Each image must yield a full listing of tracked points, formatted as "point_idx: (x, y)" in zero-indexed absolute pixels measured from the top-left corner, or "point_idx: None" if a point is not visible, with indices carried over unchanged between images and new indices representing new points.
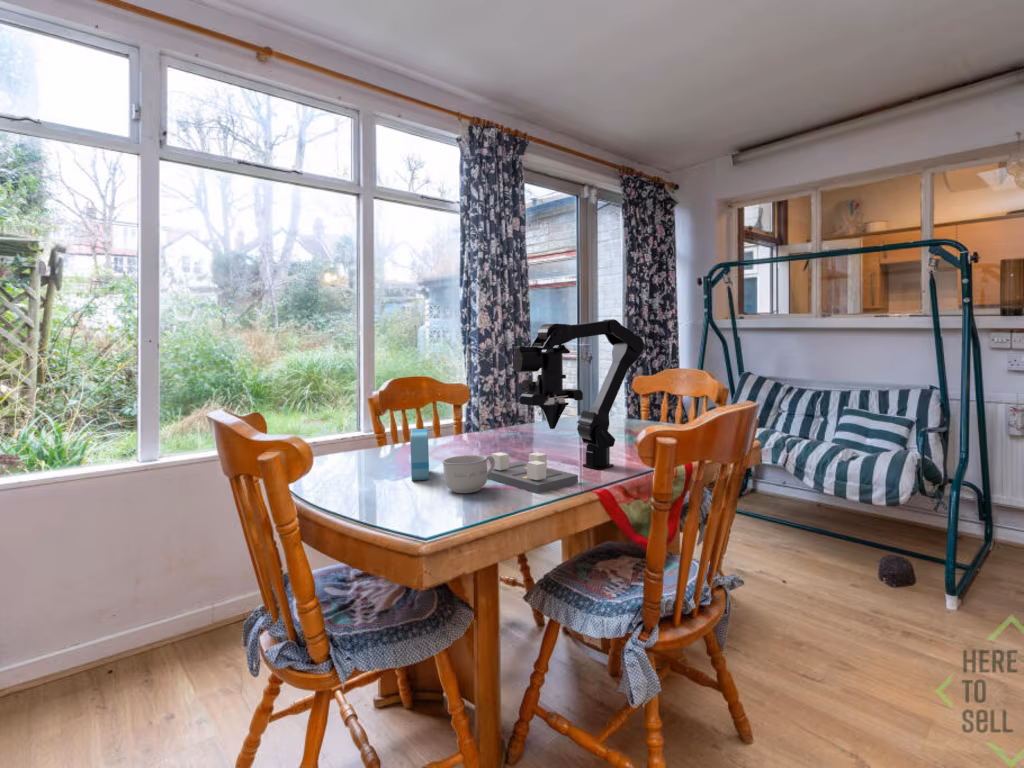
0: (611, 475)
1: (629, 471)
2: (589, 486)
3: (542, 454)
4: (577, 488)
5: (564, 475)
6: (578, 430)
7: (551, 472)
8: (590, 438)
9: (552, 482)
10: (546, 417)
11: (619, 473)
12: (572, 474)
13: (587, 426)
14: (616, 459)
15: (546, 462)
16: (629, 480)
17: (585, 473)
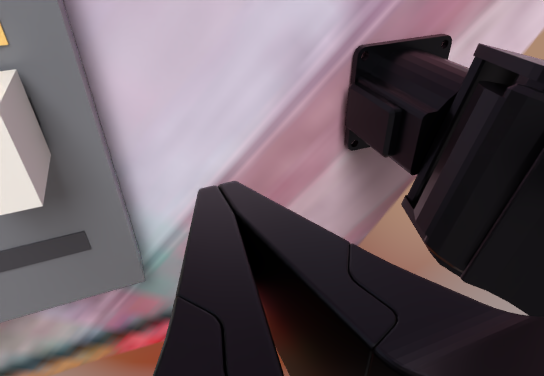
0: (313, 220)
1: (392, 204)
2: (148, 302)
3: (4, 200)
4: (91, 311)
5: (83, 270)
6: (497, 107)
7: (51, 204)
8: (416, 210)
9: None
10: (179, 298)
11: (351, 211)
12: (129, 267)
13: (483, 234)
14: (533, 34)
15: (46, 174)
16: None
17: (269, 156)
